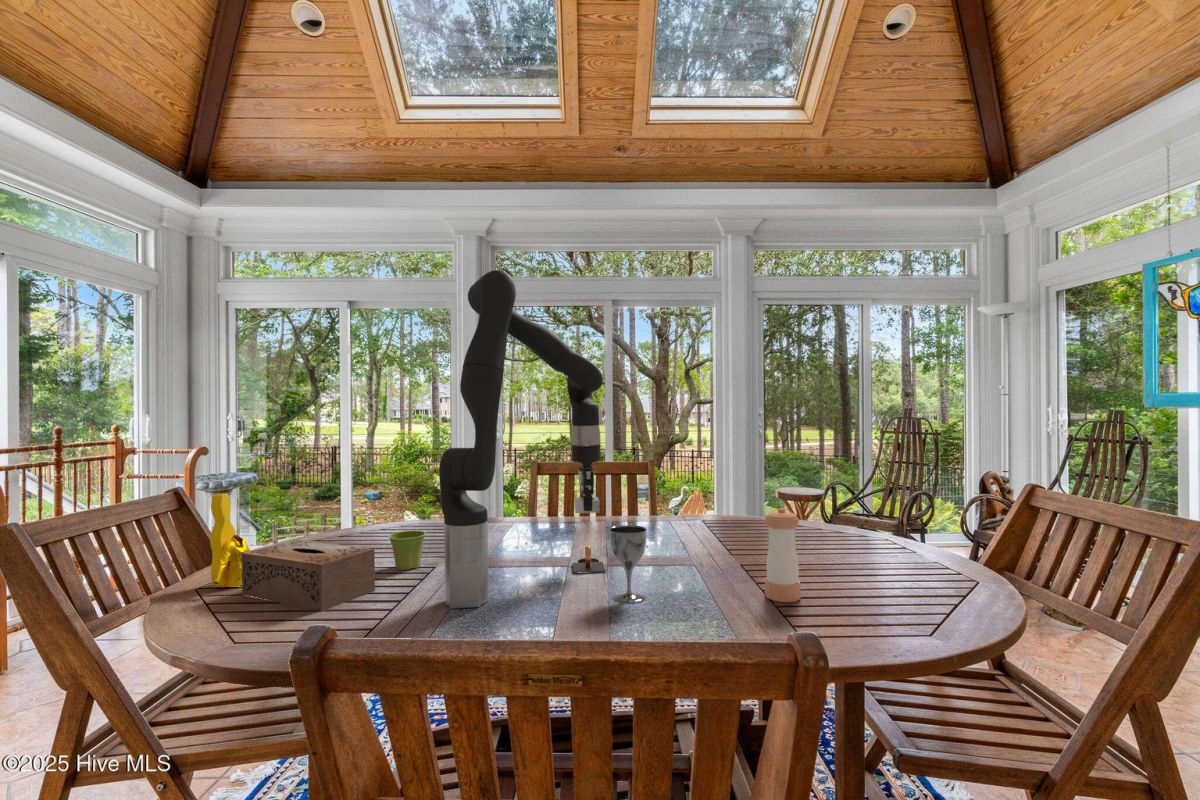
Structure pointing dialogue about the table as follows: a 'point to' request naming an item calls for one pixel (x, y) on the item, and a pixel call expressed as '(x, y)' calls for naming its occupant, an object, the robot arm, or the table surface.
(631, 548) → the wine glass
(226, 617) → the table surface
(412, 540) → the plant pot
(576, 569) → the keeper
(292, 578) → the tissue box cover
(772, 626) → the table surface
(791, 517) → the pepper shaker
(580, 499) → the grey square block
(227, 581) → the figure statuette
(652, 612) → the table surface
